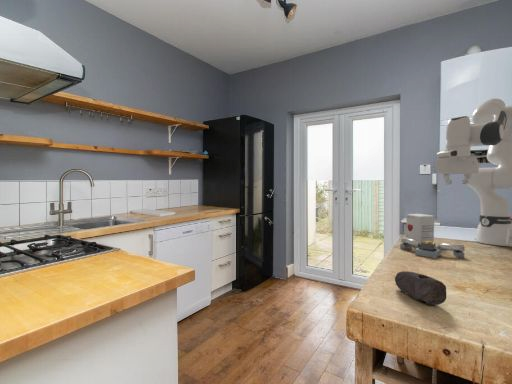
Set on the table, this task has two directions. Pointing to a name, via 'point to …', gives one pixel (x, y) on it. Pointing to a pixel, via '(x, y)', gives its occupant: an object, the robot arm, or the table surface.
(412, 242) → the shaft
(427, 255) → the housing
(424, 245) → the block
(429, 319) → the table surface
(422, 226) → the supplement box
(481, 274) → the table surface
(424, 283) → the perforated stone tool
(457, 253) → the shaft
